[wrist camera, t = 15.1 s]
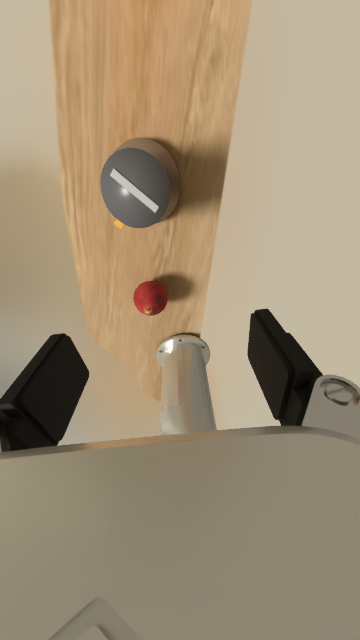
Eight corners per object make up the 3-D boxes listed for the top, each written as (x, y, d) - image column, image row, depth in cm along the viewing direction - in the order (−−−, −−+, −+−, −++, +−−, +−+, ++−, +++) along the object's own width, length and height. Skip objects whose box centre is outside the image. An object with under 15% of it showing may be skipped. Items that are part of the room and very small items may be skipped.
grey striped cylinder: (181, 182, 24) (183, 185, 20) (145, 237, 28) (140, 249, 24) (130, 134, 22) (121, 126, 17) (98, 201, 25) (83, 208, 21)
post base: (182, 218, 31) (184, 225, 27) (121, 225, 32) (114, 234, 28) (175, 134, 25) (176, 128, 21) (100, 144, 26) (87, 140, 22)
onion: (158, 268, 36) (156, 290, 30) (173, 293, 39) (173, 318, 33) (130, 281, 37) (122, 305, 31) (146, 305, 40) (142, 331, 34)
